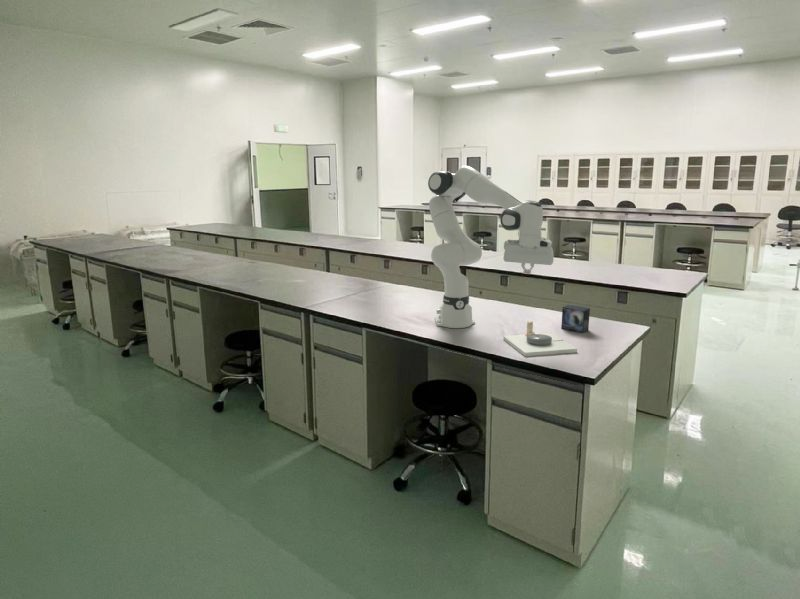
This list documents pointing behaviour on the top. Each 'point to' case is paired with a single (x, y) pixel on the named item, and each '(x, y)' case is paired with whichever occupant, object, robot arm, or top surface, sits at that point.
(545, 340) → the dial
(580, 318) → the small box
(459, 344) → the top surface
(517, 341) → the dial plate
